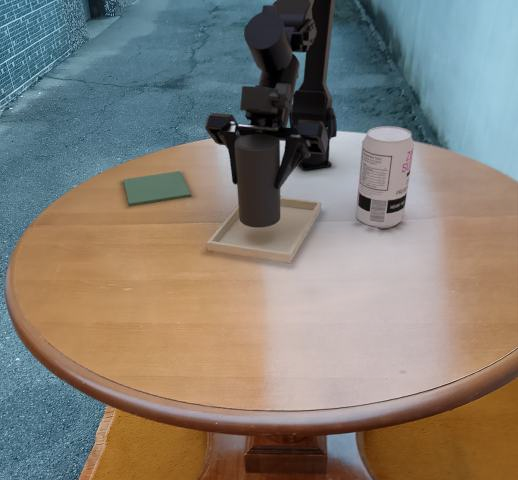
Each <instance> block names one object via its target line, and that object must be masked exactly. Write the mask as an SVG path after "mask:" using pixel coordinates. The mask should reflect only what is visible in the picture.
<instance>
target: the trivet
mask: <svg viewBox="0 0 518 480" xmlns="http://www.w3.org/2000/svg"><path fill="white" fill-rule="evenodd" d="M122 181H123V185H124V189H125V194H126V198H127V202H128V206H129V207H135V206H141V205H147V204H154V203H161V202H167V201H173V200H178V199H179V200H180V199H185V198H191V197H192V194H191V191H190V189H189V187H188V185H187V183H186V180H185V178H184V176H183V174H182V172H181V171H180V170H177V171H172V172H165V173H158V174H152V175H151V174H149V175H144V176H137V177H130V178H123V179H122Z"/></svg>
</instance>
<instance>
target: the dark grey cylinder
mask: <svg viewBox="0 0 518 480" xmlns="http://www.w3.org/2000/svg"><path fill="white" fill-rule="evenodd" d="M235 158H236V174H237V184H236V189H237V202H238V204H237V206H238V205H239V219H240V221H241V223H243V224H244V225H246V226H249V227H256V228H262V227H268V226H272V225H274V224H276V223H277V222H278V221H279V220H280V197H281V188H280V189H276V181H277V176H278V172H279V169H280V165H281V140H279V139H278V138H277V137H275V136H272V135H268V134H251V135H246V136H242V137H240V138H238V139H237V140H236V141H235Z"/></svg>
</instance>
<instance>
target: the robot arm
mask: <svg viewBox="0 0 518 480" xmlns="http://www.w3.org/2000/svg"><path fill="white" fill-rule="evenodd" d="M335 5H336V0H275V1H274V2H273V3H272V4H271V5H270V4H264V5H262V10H261V12H259V13H257V14H255V15H254V16H252V18H250V20H248V22H247V24H245V26H244V30H243V37H244V40H245V42H246V45H247V47H248V50H249V51H250V55H251V57H252V58H253V61H254V64H255V65H256V67H257V68H258V69H259V70H260V71H261V72H260V76H259V80H258V85H257V84H256V85H255V86H250V85H243V86H242V87H241V94H240V95H241V96H240V104H239V105H240V106H239V110H240V112H243V111H245V113H244V117H245V119H246V120H247V121H250V123H249V124H247V123H238V121H237V119H236V118H235V116H234V115H233V114H231V113H220V112H211V114H209V115H208V117H207V118H206V121H205V124H204V125H205V126H204V130H206V132H207V133H208V135H209V136H210V137H211V139H212V140H213V141H214V143H215V144H217V145H219V146H225V148H226V149H227V152H228V156H229V163H230V172H231V182H232V184H233V185H235V186H237V174H236V158H235V141H236V140H237V139H238V138H240V137H242V136H246V135H251V134H268V135H272V136H275V137H277V138H278V139H279V140H280V142H284V151H283V155H282V158H281V161H280V169H279V172H278V176H277V181H276V189H280V190H281V188H282V187H283V186H284V184H285V182H286V181H287V179H288V178H289V177H290V175H291V174H292V173H293V171H294V170H295V169H296V168H297V167H299V168H300V169H301V170H302V171H309V170H318V169H322V168H329V167H332V165H333V163H332V162H331V161H330V143H331V140H332V139H333V138H336V137H337V134H338V131H337V130H338V122H337V117H336V114H335V110H334V109H335V108H334V107H333V97H332V95H331V92H330V90H329V87H328V85H327V79H328V70H329V61H330V51H331V43H332V31H333V24H334V23H333V22H334V13H335ZM294 53H301V54H303V53H305V60H304V69H303V80H302V83H301V85H300V86H299V87H298V89H296V85H297V80H298V79H299V77H300V76H299V75H300V74H299V70H300V66H301V65H300V61H299V59H298V57H297V55H295V54H294ZM295 89H296V90H295ZM288 122H289V127H288Z"/></svg>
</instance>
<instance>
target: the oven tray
mask: <svg viewBox="0 0 518 480" xmlns="http://www.w3.org/2000/svg"><path fill="white" fill-rule="evenodd" d="M321 211H322V202H321V201H317V200H315V201H314V200H308V199H298V198H290V197H283V196H280V220H279V221H278V222H277V223H276V224H274V225H272V226H268V227H262V228H256V227H249V226H246V225H244V224H243V223H241V221H240V219H239V205H238V204H237V206H236V207H235V208H234V209H233V211H232V212H231V213H230V214H229V215H228V216H227V218H226V219H225V220H224V221H223V222H222V223H221V225H220V226H219V227H218V228H217V230H216V231H215V232H214V233H213V235H212V236H211V237H210V238H209V239H208V240H207V242H206V246H207V251H208V252H216V253H222V254H228V255H234V256H239V257H245V258H253V259H258V260H259V259H260V260H266V261H272V262H278V263H285V264H291V263H292V261H293V259H294V258H295V256H296V254H297V253H298V251H299V249H300V248H301V246H302V244H303V242H304V241H305V239H306V237H307V235H308V234H309V232H310V230H311V228H312V227H313V225H314V223H315V222H316V220H317V218H318V216H319V215H320V213H321Z"/></svg>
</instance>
